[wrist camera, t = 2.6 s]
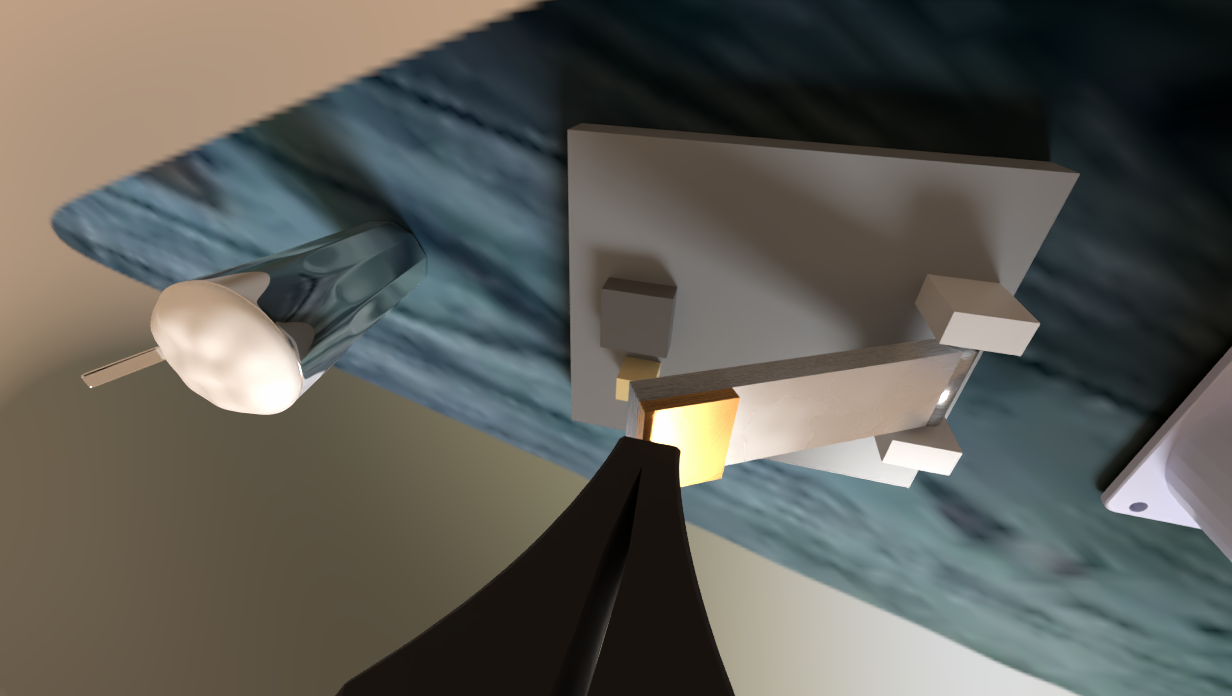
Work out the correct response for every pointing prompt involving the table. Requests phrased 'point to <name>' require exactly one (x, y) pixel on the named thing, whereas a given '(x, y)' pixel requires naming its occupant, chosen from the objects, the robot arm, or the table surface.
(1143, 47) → the table surface
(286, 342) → the milkshake
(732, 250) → the base board
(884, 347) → the latch bar
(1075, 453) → the table surface
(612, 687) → the robot arm
